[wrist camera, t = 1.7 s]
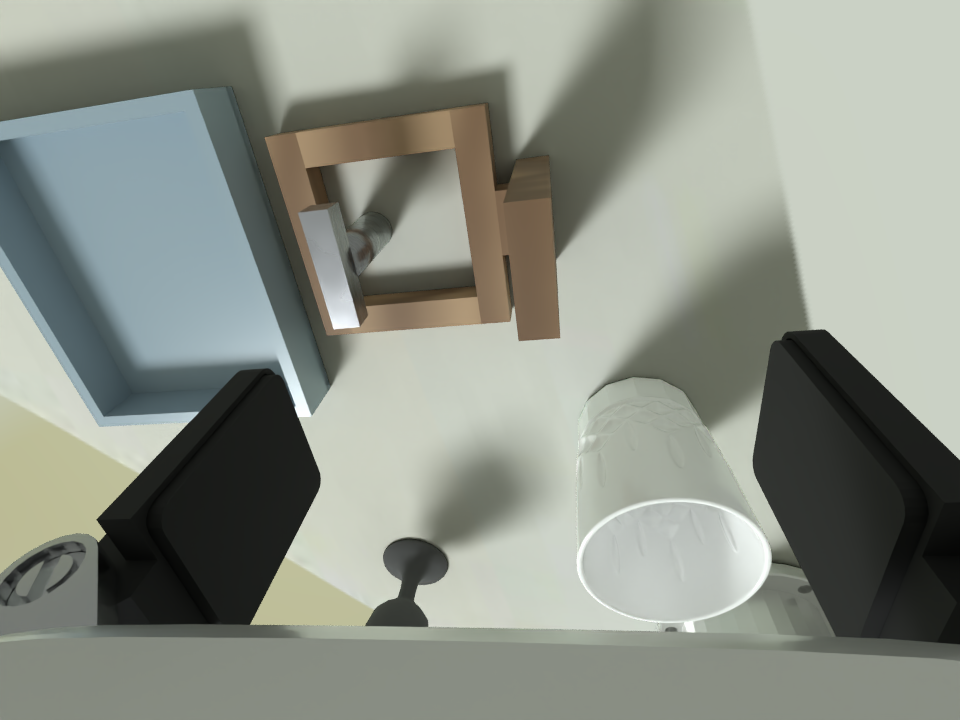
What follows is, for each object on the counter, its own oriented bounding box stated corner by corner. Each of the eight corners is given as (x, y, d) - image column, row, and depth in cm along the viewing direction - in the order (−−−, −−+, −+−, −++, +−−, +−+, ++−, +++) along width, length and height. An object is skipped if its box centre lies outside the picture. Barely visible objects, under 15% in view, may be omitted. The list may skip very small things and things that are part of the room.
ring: (544, 94, 22) (544, 110, 15) (559, 305, 27) (564, 395, 20) (279, 133, 24) (164, 164, 17) (336, 323, 29) (266, 411, 22)
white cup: (543, 440, 32) (543, 581, 23) (617, 343, 28) (650, 468, 19) (650, 492, 33) (688, 644, 24) (736, 405, 29) (817, 550, 20)
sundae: (382, 519, 37) (294, 765, 24) (470, 548, 37) (431, 804, 24) (363, 573, 40) (276, 815, 27) (444, 599, 41) (396, 848, 28)
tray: (231, 86, 24) (192, 89, 21) (330, 387, 31) (311, 416, 29) (-18, 128, 26) (-81, 135, 23) (133, 398, 34) (99, 426, 31)
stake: (380, 176, 25) (334, 208, 19) (401, 274, 27) (366, 326, 22) (345, 181, 25) (290, 213, 20) (369, 277, 28) (327, 329, 22)
